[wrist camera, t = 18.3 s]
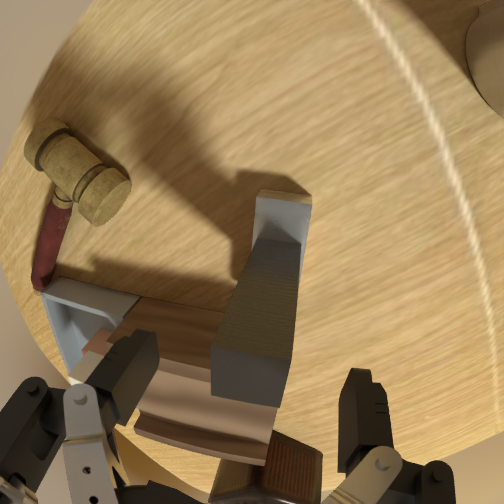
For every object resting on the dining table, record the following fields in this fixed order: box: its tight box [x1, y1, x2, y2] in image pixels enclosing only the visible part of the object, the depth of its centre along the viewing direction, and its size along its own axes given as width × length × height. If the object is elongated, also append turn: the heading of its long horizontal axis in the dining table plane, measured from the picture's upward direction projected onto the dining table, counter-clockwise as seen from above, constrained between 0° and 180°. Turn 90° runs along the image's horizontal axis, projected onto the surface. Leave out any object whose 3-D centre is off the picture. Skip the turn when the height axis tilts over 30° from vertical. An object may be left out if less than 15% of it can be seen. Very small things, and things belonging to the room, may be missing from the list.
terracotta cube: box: [81, 328, 113, 356], centre depth 29 cm, size 4×4×4 cm
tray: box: [40, 276, 141, 409], centre depth 30 cm, size 14×11×4 cm
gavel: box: [24, 117, 132, 296], centre depth 26 cm, size 21×5×10 cm
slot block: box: [106, 297, 278, 466], centre depth 27 cm, size 14×14×7 cm
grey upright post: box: [211, 189, 312, 408], centre depth 18 cm, size 9×4×14 cm, turn 175°
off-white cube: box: [68, 350, 104, 385], centre depth 25 cm, size 4×4×4 cm
